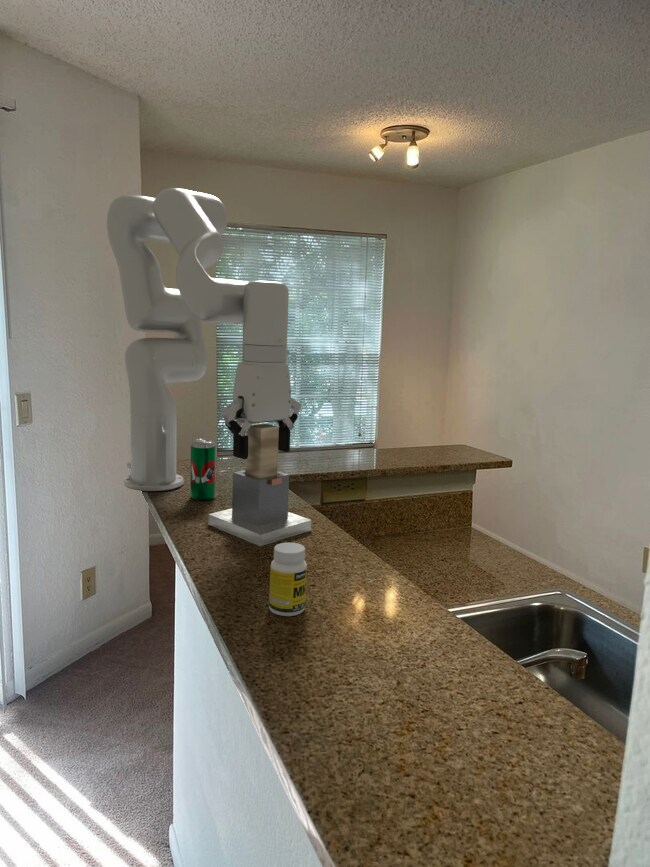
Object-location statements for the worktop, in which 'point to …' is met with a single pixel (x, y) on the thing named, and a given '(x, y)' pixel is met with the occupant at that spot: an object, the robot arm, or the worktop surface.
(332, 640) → the worktop surface
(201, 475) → the soda can
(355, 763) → the worktop surface
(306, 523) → the stand base
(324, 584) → the worktop surface
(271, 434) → the column
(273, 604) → the supplement bottle
